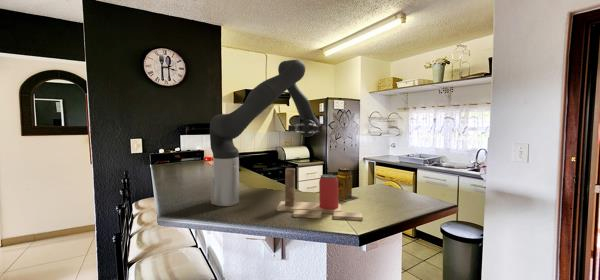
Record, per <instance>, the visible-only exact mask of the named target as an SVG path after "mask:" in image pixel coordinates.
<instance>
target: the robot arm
mask: <svg viewBox="0 0 600 280" xmlns="http://www.w3.org/2000/svg"><path fill="white" fill-rule="evenodd" d="M277 67H278V69H277V72H278V74H276V75H275V76H272V77H270V78H268V79H265V80H263V81H262V82H260V83H258V85H256V86H255V87H254V88H252V89H251V90H250V91H249V93H248V94H247V96H246V99H245V101H244V102H243V103H242V105H240V106H239V107H238V108H236V109H234V110H233V111H231V112H230V113H221V114H217V115H214V116H213V117H212V118H211V121H210V122H209V123H210V124H209V139H210V140H209V141H210V142H209V143H210V150H211V152H212V168H213V169H212V171H213V173H212V174H213V177H212V178H210V190H211V191H210V192H211V193H210V196H211V197H210V200H211V201H210V202H211V203H210V204H211V205H215V206H218V207H229V206H234V205H238V204H239V203H240V170H239V169H240V160H239V159H240V156H239V155H240V153H239V149H238V148H237V147H236V146H235V144H234V141H233V139H236V138H238V137H239V136H241V135H242V133H243V132H244V131H245V130H246V129H247V128H248V126H249V125H250V124H251V123H252V122H253V121H254V120H255V119H256V118H257V117H258V116H259V115H260V114H262V113H263V112H264V111H265V110H266V109H267V108H269V107H270V106H271V105H272V104H273V103H275V101H276V100H277V99H279V97H280V96H282V95H283V94H284V93H285V92H286V91H287V92H288V94H289V95H290V98H291V99H292V101H293V102H294V105H295V108H296V110H297V113H298V116H299V119H301V120H302V121H300V123H296V124H292V125H291V124H289V125H288V126H287V127H288V128H287V129H288V132H293V133H294V132H296V133H299V134H300V135H301V136H303V137H307V138H308V137H311V136H313V135H314V134H317V133H319V132H320V133H322V132H324V131H323V127H324V126H323V125H322V124H321V122H320V120H319V119H318V118H317V117H316V115H315V113H314V112H313V109H312V106H311V103H310V100H309V99H308V97H307V96H306V95H305V94H304V93H303V92H302V90H301V89H300V87H299V86H298V85H297V83H298V82H299V81H301V80H302V79H303V77H304V75H305V73H306V67H305V64H304V62H303V61H302V60H300V59H290V60H282V61H281V62H280V63H279V64H278V66H277Z"/></svg>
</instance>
